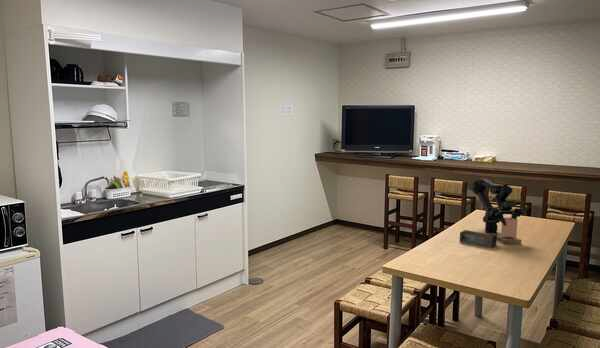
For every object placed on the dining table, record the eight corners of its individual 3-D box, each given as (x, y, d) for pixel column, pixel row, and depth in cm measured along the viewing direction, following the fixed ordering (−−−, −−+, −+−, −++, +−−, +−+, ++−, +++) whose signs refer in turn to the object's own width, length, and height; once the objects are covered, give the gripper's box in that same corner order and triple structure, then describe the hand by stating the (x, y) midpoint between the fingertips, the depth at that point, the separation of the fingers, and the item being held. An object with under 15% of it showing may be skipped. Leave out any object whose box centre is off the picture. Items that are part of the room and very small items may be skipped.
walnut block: (495, 240, 268) (496, 235, 268) (511, 239, 269) (512, 234, 268) (504, 245, 258) (504, 240, 258) (521, 244, 259) (521, 239, 259)
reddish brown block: (501, 234, 266) (502, 217, 264) (510, 233, 266) (512, 217, 265) (506, 237, 260) (507, 220, 258) (516, 236, 260) (517, 220, 259)
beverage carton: (464, 238, 270) (464, 228, 269) (497, 245, 258) (497, 234, 257) (459, 241, 264) (459, 231, 263) (492, 248, 252) (493, 237, 251)
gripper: (492, 195, 263) (500, 218, 254) (523, 195, 264) (532, 217, 255) (485, 205, 272) (493, 228, 263) (514, 205, 273) (523, 227, 264)
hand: (510, 225), depth 261 cm, fingers closed on reddish brown block, 6 cm apart
